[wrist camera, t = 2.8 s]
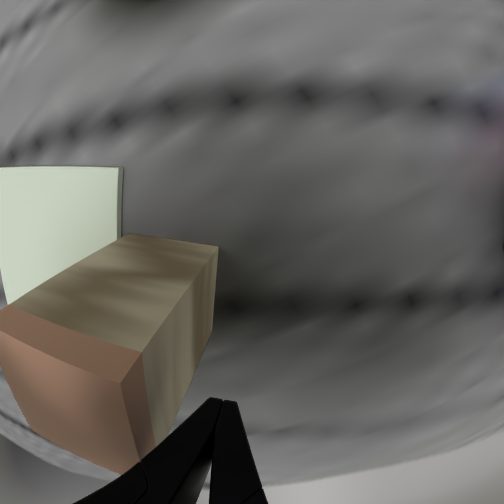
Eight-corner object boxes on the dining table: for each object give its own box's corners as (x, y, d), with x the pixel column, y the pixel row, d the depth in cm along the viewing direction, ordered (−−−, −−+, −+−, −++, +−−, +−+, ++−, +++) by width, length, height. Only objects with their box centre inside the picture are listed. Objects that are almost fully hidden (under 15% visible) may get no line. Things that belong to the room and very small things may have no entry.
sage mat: (123, 167, 14) (118, 167, 14) (129, 357, 18) (126, 361, 17) (-3, 167, 15) (-8, 168, 14) (14, 313, 19) (10, 316, 18)
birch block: (218, 246, 15) (120, 383, 5) (212, 331, 16) (147, 484, 7) (129, 233, 15) (-16, 321, 6) (132, 313, 17) (32, 429, 7)
